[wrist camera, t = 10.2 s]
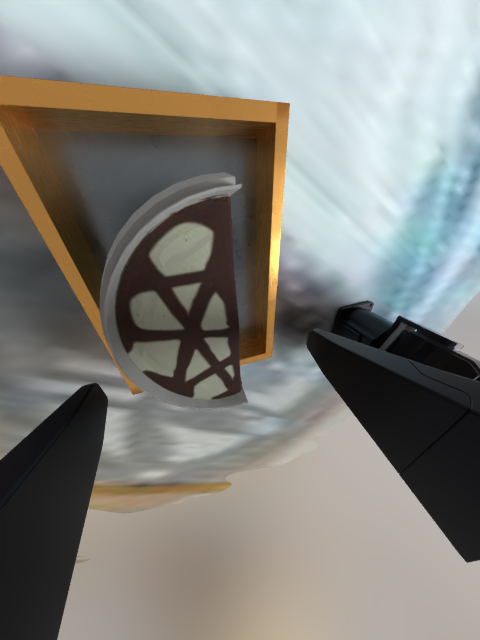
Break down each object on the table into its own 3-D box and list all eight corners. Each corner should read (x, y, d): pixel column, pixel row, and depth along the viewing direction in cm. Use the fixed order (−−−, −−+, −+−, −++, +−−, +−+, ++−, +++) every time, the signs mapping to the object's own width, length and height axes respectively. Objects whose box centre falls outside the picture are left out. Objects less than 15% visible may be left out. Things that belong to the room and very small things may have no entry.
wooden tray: (264, 120, 14) (302, 85, 10) (260, 335, 25) (277, 359, 21) (6, 103, 10) (-100, 35, 6) (135, 365, 22) (127, 401, 18)
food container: (104, 191, 12) (-36, 157, 4) (198, 189, 13) (241, 160, 5) (157, 339, 19) (147, 441, 10) (216, 326, 20) (248, 407, 12)
